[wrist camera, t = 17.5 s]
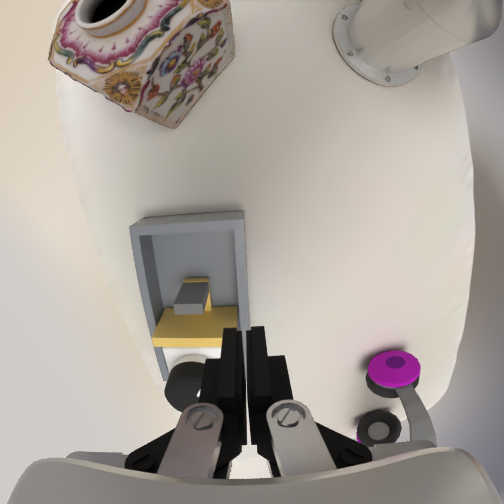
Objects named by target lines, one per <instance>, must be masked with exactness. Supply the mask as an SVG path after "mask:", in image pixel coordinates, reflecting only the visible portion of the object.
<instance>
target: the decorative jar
mask: <svg viewBox="0 0 504 504" xmlns="http://www.w3.org/2000/svg"><path fill="white" fill-rule="evenodd" d="M234 55H235V44H234V35H233V24H232V14H231V7H230V2H229V0H71V1H70V2H69V4H68V5H67V6H66V7H65V9H64V10H63V11H62V13H61V14H60V16H59V18H58V21H57V25H56V29H55V33H54V37H53V40H52V43H51V47H50V51H49V57H48V61H49V62H50V64H51V65H52V66H54V67H55V68H56V69H58V70H60V71H62V72H63V73H64V74H66V75H69V77H70V78H72V79H73V80H75V81H78V82H80V83H82V84H83V85H85V86H87V87H88V88H90V89H92V90H93V91H95V92H99V93H101V94H103V95H104V96H105V98H106V99H108V100H110V101H112V102H114V103H116V104H118V105H119V106H121V107H122V108H123V109H124V110H125V111H126V112H133V113H136V114H138V115H141V116H143V117H145V118H147V119H149V120H152V121H154V122H156V123H159V124H161V125H164V126H166V127H169V128H176V127H177V126H178V125H179V123H180V122H181V121H182V119H183V118H184V117H185V115H186V114H187V113H188V112H189V111H190V109H191V108H192V107H193V105H194V104H195V103H196V102H197V100H198V99H199V98H200V97H201V95H202V94H203V93H204V92H205V90H206V89H207V88H208V87H209V86H210V84H211V83H212V82H213V81H214V79H215V78H216V77H217V76H218V75H219V74H220V72H221V71H222V70H223V69H224V68H225V67H226V66H227V65H228V64H229V63H230V62H231V60H232V59H233V58H234Z"/></svg>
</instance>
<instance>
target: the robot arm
mask: <svg viewBox="0 0 504 504" xmlns="http://www.w3.org/2000/svg"><path fill="white" fill-rule="evenodd" d="M502 9H503V0H363V1H362V2H361V3H356V4H353V5H350V6H348V7H346V8H344V9H343V10H342V11H341V12H340V13H339V15H338V16H337V18H336V20H335V22H334V27H333V35H334V41H335V43H336V46H337V49H338V50H339V52H340V54H341V56H342V57H343V58H344V60H345V61H346V62H347V64H348V65H349V66H350V67H351V68H352V69H353V70H354V71H356V72H357V73H358V74H360V75H361V76H362V77H364V78H366V79H368V80H369V81H371V82H374V83H376V84H379V85H384V86H394V87H395V86H401V85H404V84H406V83H409V82H410V81H412V80H413V79H414V78H415V77H416V76H417V75H418V73H419V72H420V69H421V65H422V63H424V62H426V61H428V60H431V59H433V58H435V57H438V56H440V55H443V54H445V53H448V52H450V51H453V50H455V49H458V48H460V47H463V46H466V45H469V44H471V43H474V42H477V41H480V40H483V39H485V38H487V37H489V36H491V35H492V34H493V33H494V32H495V31H496V30H497V29H498V27H499V24H500V21H501V17H502ZM347 54H349V56H348V55H347ZM246 357H247V399H248V411H249V423H250V434H251V445H257V452H258V454H259V455H261V456H262V457H264V458H266V459H267V463H268V467H269V471H270V474H271V478H259V479H229V476H230V472H231V467H232V460H233V459H234V458H235V457H237V456H238V455H239V454H240V452H242V445H247V417H246V376H245V363H244V350H243V337H242V331H237V327H234V328H223V337H222V346H221V356H220V358H206V360H205V365H204V371H203V377H202V383H201V390H200V396H199V402H198V403H197V404H193V405H191V406H189V407H187V408H186V409H185V410H184V411H183V413H182V414H181V416H180V419H179V421H178V423H177V426H176V428H174V429H173V430H171V431H169V432H167V433H166V434H164V435H162V436H160V437H159V438H157V439H155V440H153V441H151V442H150V443H148V444H146V445H144V446H142V447H140V448H138V449H137V450H135V451H133V452H132V453H130V454H129V455H124V454H123V453H107V452H106V453H105V452H81V451H78V452H73V453H71V454H69V455H68V456H67V457H66V458H47V459H42V460H38V461H35V462H33V463H32V464H31V465H30V466H29V467H28V468H27V469H26V470H25V471H24V473H23V474H22V476H21V477H20V479H19V481H18V483H17V484H16V486H15V488H14V490H13V492H12V494H11V496H10V499H9V501H8V503H7V504H503V503H502V501H501V499H500V497H499V495H498V492H497V490H496V488H495V487H494V485H493V483H492V481H491V480H490V478H489V476H488V474H487V473H486V472H485V470H484V468H483V467H482V466H481V464H480V463H479V462H478V460H477V459H476V458H475V457H474V456H473V455H472V454H470V453H469V452H467V451H466V450H464V449H460V448H453V447H436V445H435V444H434V443H432V442H431V441H428V440H416V441H407V442H398V443H387V444H375V445H374V447H367V446H365V445H363V444H362V443H359V442H357V441H355V440H353V439H350V438H348V437H346V436H344V435H342V434H339V433H337V432H335V431H333V430H331V429H329V428H327V427H325V426H323V425H321V424H319V423H317V422H315V421H314V419H313V417H312V415H311V412H310V410H309V409H308V407H307V406H306V405H304V404H303V403H301V402H299V401H296V400H293V395H292V390H291V385H290V380H289V375H288V369H287V364H286V359H285V356H284V355H280V356H268V355H267V347H266V338H265V330H264V326H256V327H251V330H246Z"/></svg>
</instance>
